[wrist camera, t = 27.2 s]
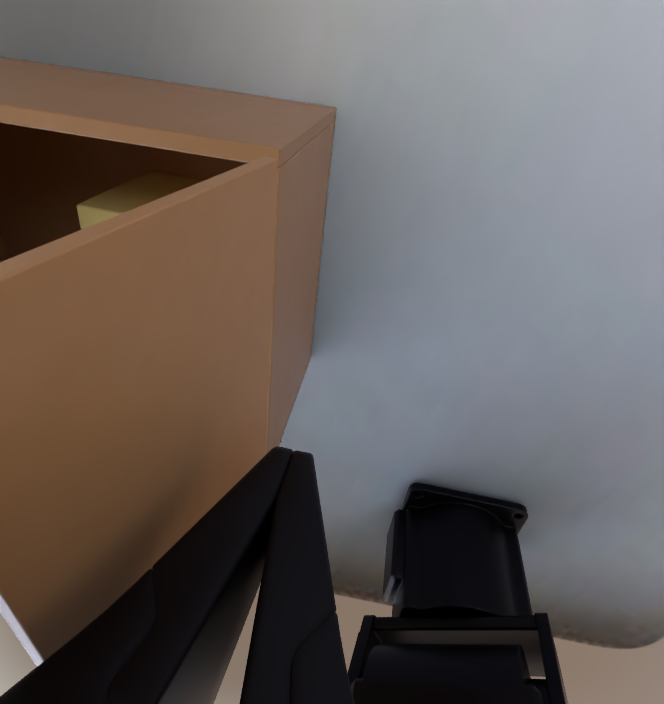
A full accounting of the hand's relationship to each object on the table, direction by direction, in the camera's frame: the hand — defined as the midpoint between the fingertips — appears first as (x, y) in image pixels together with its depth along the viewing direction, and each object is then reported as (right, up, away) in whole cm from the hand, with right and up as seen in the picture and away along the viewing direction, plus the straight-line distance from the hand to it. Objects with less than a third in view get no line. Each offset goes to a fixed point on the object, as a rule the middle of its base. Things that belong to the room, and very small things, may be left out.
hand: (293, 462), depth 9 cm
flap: (-2, 0, 0) cm, 2 cm away
